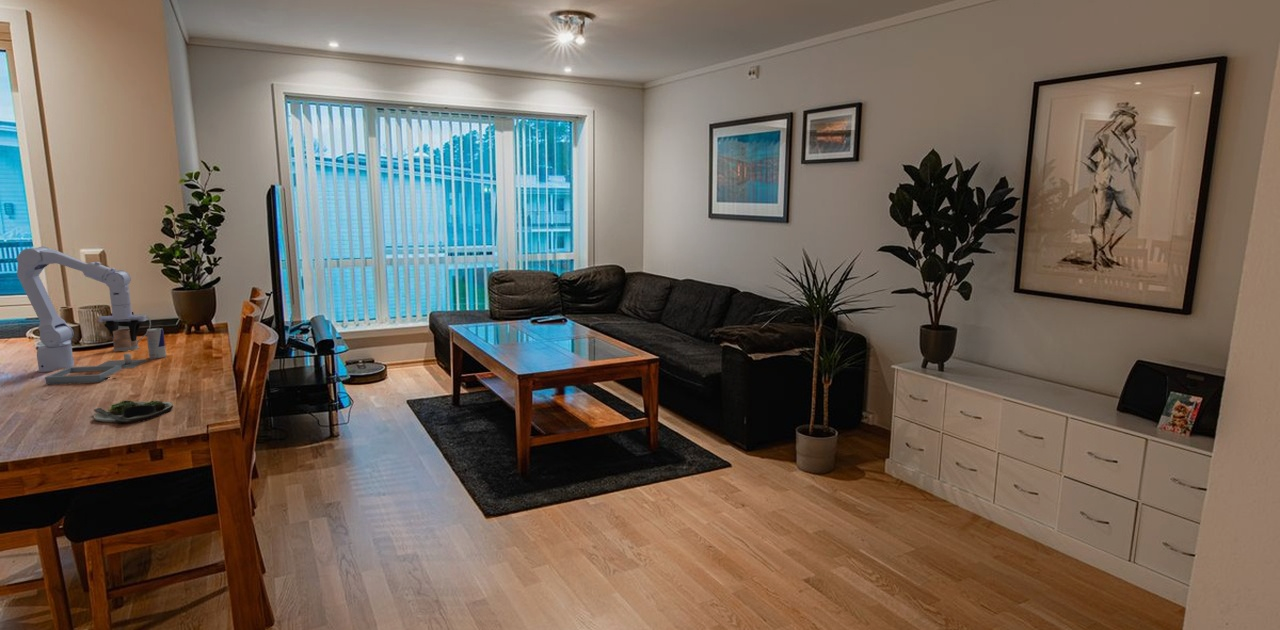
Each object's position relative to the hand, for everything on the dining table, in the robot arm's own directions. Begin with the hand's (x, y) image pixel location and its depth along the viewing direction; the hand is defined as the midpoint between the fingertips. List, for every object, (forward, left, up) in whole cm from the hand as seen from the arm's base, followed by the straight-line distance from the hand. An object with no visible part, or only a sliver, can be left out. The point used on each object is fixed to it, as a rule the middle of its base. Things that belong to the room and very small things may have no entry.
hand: (125, 340), depth 253 cm
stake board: (-2, -1, -10) cm, 10 cm away
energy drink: (+6, +9, -10) cm, 15 cm away
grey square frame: (-6, -16, -10) cm, 20 cm away
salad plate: (+30, -63, -10) cm, 71 cm away
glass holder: (-12, +31, -10) cm, 35 cm away
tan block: (0, 0, -2) cm, 2 cm away
